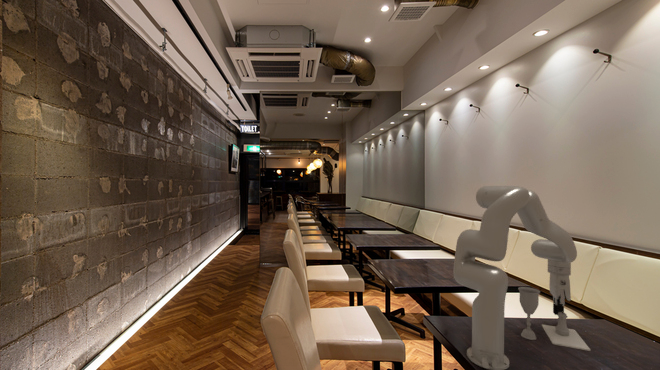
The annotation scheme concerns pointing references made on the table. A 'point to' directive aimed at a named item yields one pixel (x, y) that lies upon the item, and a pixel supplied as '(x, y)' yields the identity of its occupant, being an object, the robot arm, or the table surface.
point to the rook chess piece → (562, 324)
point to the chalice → (529, 308)
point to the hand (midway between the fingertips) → (558, 314)
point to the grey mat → (565, 338)
